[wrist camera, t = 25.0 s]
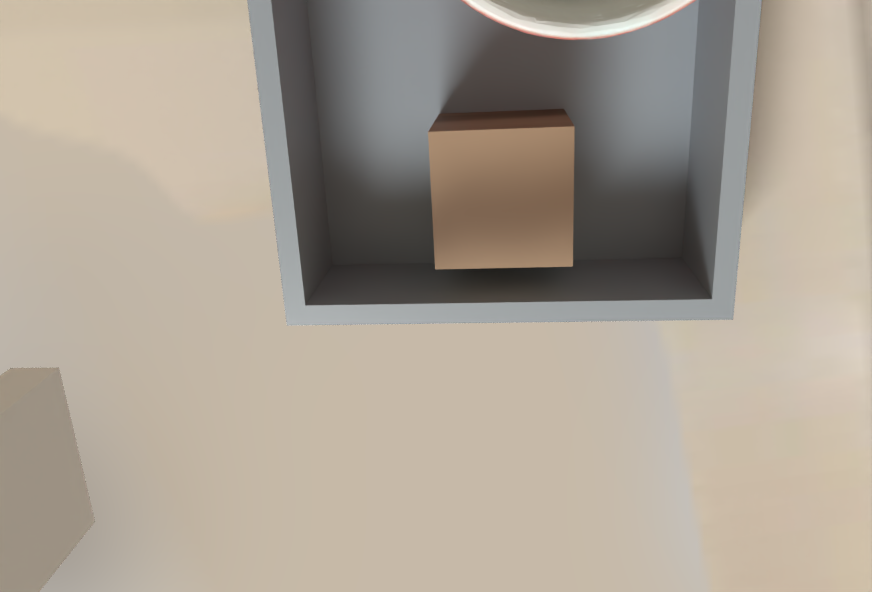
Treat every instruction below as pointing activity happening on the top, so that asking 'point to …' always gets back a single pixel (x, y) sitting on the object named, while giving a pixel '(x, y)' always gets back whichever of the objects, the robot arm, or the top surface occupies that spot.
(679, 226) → the tote
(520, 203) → the cube
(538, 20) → the mug
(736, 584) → the top surface
